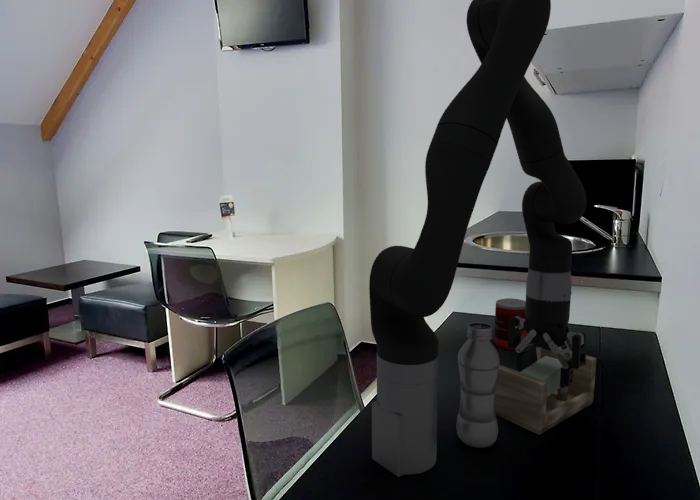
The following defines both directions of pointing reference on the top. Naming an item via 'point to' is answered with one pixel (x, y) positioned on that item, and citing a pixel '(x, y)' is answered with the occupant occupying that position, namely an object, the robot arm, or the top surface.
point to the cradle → (542, 396)
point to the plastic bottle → (478, 387)
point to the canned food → (507, 320)
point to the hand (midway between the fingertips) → (543, 378)
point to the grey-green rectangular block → (546, 372)
